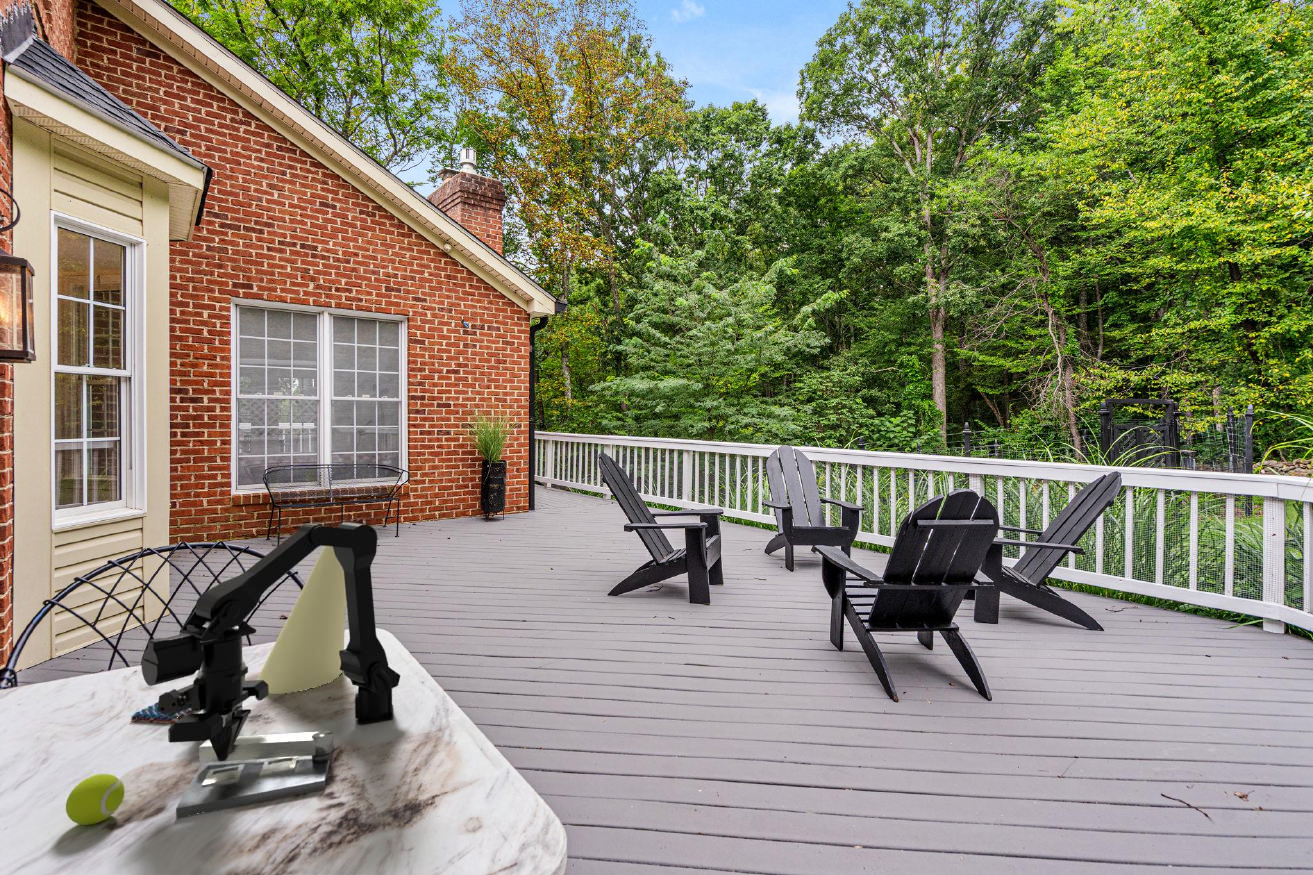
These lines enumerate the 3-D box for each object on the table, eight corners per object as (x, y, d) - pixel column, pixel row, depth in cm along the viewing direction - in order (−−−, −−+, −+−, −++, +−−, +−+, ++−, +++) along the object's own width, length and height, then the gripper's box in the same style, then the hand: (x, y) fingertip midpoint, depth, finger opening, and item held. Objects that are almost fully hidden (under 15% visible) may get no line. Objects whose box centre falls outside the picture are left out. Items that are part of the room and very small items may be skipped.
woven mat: (216, 704, 140) (216, 694, 140) (174, 726, 130) (174, 716, 130) (173, 702, 142) (172, 693, 142) (127, 724, 131) (127, 714, 131)
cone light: (235, 686, 148) (231, 533, 148) (306, 659, 165) (303, 521, 165) (312, 703, 139) (309, 539, 138) (379, 673, 156) (377, 526, 155)
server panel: (336, 744, 121) (336, 730, 121) (328, 788, 106) (328, 773, 106) (204, 767, 113) (204, 752, 113) (176, 818, 98) (175, 801, 98)
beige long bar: (335, 745, 115) (335, 729, 115) (328, 754, 111) (328, 738, 111) (209, 753, 112) (209, 737, 112) (199, 763, 109) (198, 746, 109)
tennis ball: (94, 807, 101) (93, 764, 101) (136, 807, 101) (135, 765, 101) (53, 834, 95) (52, 789, 95) (98, 835, 95) (97, 789, 94)
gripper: (204, 650, 117) (205, 737, 117) (130, 689, 99) (131, 793, 98) (269, 647, 118) (270, 734, 118) (208, 686, 100) (209, 789, 99)
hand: (222, 760), depth 108 cm, fingers closed
